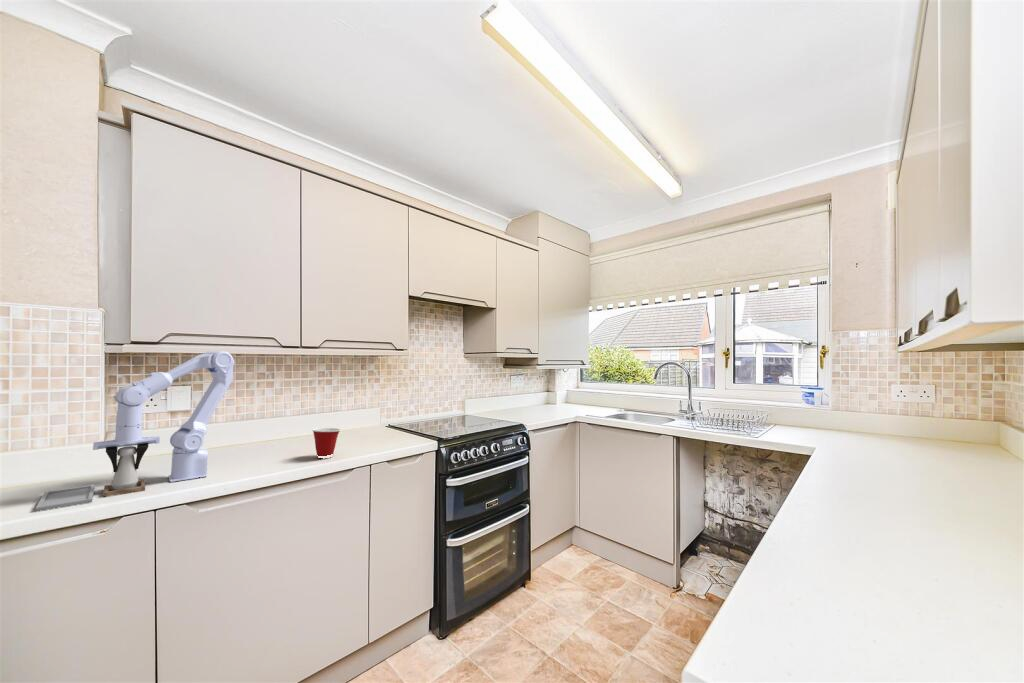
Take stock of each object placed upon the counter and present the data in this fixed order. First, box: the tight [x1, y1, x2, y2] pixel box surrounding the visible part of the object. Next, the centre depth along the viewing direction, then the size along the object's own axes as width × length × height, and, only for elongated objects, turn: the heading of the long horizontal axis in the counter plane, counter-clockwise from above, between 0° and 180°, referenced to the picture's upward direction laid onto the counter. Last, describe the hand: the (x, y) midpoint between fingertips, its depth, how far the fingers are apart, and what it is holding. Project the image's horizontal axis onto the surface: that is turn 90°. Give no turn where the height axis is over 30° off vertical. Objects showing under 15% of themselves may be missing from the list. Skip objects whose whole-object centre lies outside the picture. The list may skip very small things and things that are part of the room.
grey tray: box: [35, 484, 96, 512], centre depth 111 cm, size 10×16×1 cm, turn 45°
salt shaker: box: [110, 445, 139, 491], centre depth 119 cm, size 6×6×13 cm
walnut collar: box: [102, 479, 146, 498], centre depth 119 cm, size 9×9×1 cm
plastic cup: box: [311, 427, 341, 456], centre depth 163 cm, size 11×11×12 cm
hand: (126, 470), depth 119 cm, fingers closed on salt shaker, 4 cm apart
